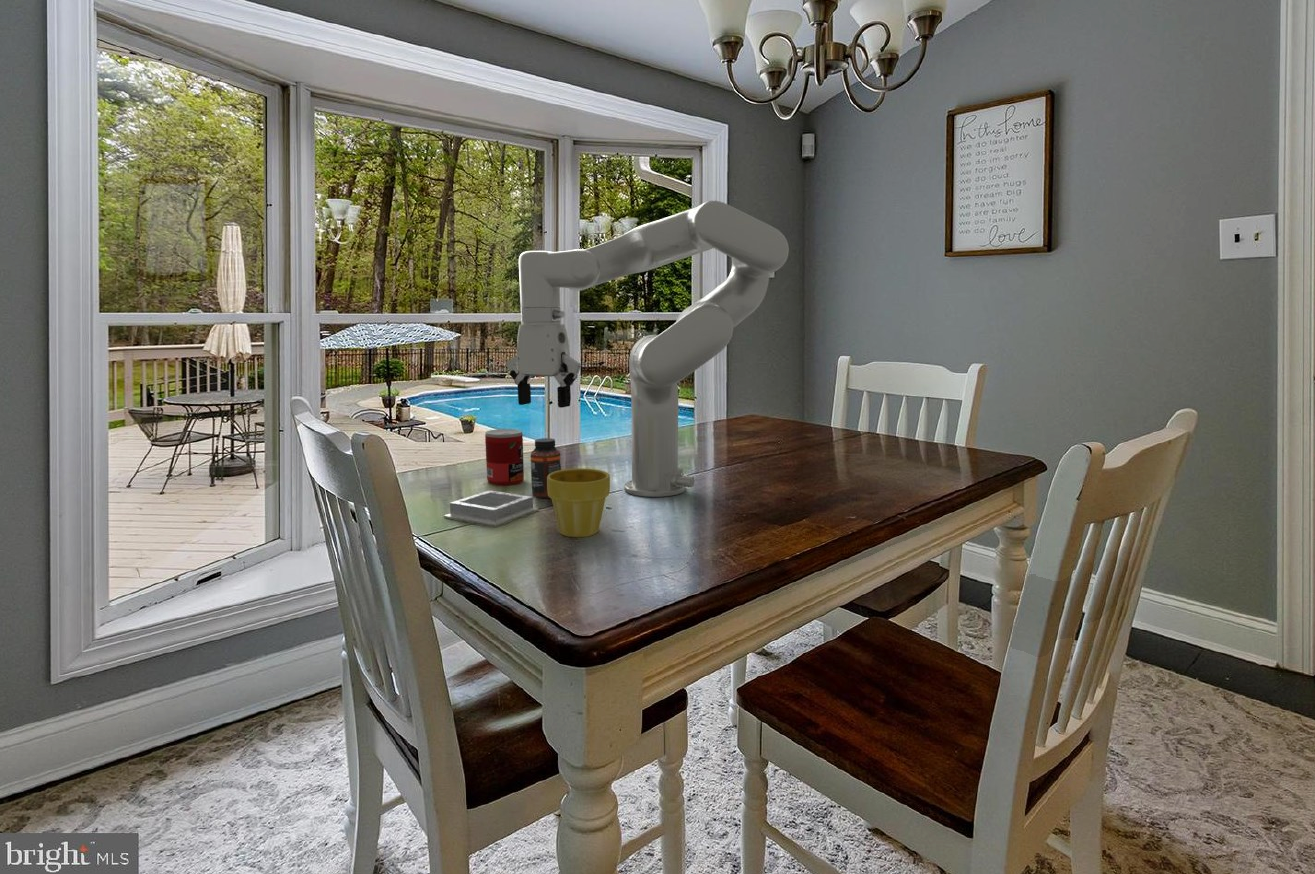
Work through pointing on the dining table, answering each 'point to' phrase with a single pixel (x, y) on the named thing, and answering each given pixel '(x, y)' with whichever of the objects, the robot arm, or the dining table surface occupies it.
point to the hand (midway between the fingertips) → (544, 405)
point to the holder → (491, 508)
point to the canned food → (504, 456)
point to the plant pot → (578, 499)
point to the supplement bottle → (543, 465)
